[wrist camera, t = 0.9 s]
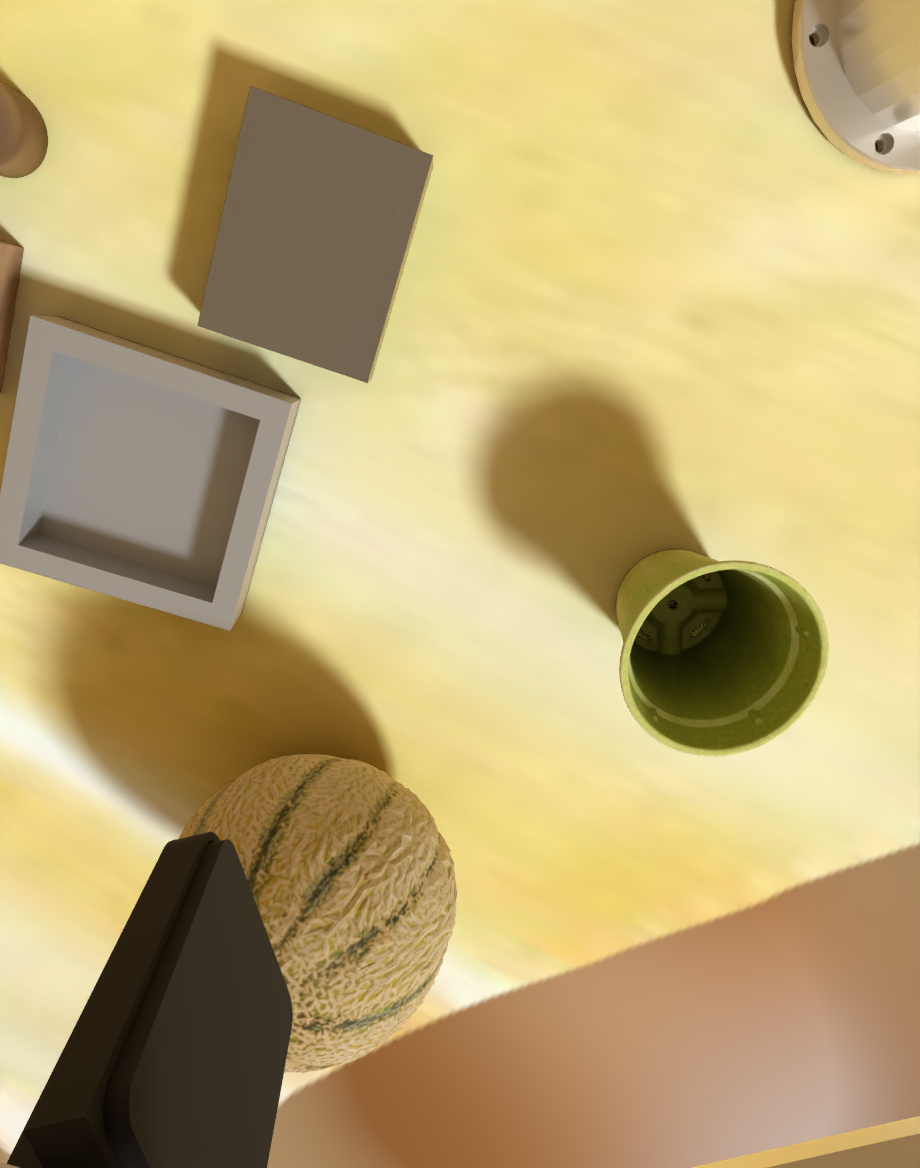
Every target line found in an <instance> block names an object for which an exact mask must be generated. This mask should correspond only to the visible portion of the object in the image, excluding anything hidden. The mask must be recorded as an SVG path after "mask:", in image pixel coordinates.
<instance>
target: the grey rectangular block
mask: <svg viewBox="0 0 920 1168" xmlns="http://www.w3.org/2000/svg"><path fill="white" fill-rule="evenodd" d="M432 169H433V155H430V154H428V153H425V152H422V151H420V150H417V149H414V148H412V147H409V146H407V145H404V144H401V143H399V142H396V141H394V140H391V139H388V138H386V137H383V136H380V135H378V134H375V133H373V132H370V131H367V130H365V129H362V128H359V127H357V126H354V125H352V124H349V123H346V122H344V121H341V120H338V119H336V118H333V117H331V116H328V115H325V114H323V113H320V112H317V111H315V110H312V109H310V108H307V107H304V106H302V105H299V104H296V103H294V102H291V101H289V100H286V99H283V98H281V97H278V96H276V95H273V94H270V93H268V92H265V91H262V90H260V89H257V88H255V87H252V86H250V89H249V94H248V98H247V103H246V108H245V112H244V117H243V121H242V126H241V130H240V135H239V139H238V144H237V149H236V153H235V158H234V162H233V167H232V171H231V176H230V180H229V185H228V190H227V194H226V199H225V203H224V208H223V212H222V217H221V221H220V226H219V230H218V235H217V240H216V244H215V249H214V253H213V258H212V262H211V267H210V271H209V276H208V281H207V285H206V290H205V294H204V299H203V303H202V308H201V312H200V317H199V321H198V326H200V327H203V328H206V329H209V330H212V331H215V332H218V333H221V334H224V335H227V336H230V337H233V338H235V339H238V340H241V341H244V342H247V343H250V344H253V345H256V346H259V347H262V348H265V349H268V350H271V351H274V352H277V353H280V354H283V355H286V356H289V357H292V358H295V359H298V360H301V361H304V362H307V363H310V364H313V365H316V366H319V367H322V368H325V369H328V370H331V371H334V372H337V373H340V374H343V375H345V376H348V377H351V378H354V379H357V380H360V381H363V382H366V383H368V382H369V381H370V380H371V379H372V376H373V372H374V369H375V365H376V362H377V358H378V355H379V351H380V348H381V344H382V341H383V338H384V334H385V331H386V327H387V324H388V320H389V317H390V313H391V310H392V307H393V303H394V300H395V296H396V293H397V289H398V286H399V282H400V279H401V276H402V272H403V269H404V265H405V262H406V258H407V255H408V251H409V248H410V244H411V241H412V238H413V234H414V231H415V227H416V224H417V220H418V217H419V213H420V210H421V207H422V203H423V200H424V196H425V193H426V189H427V186H428V182H429V179H430V176H431V172H432Z"/></svg>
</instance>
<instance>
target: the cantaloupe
mask: <svg viewBox="0 0 920 1168" xmlns="http://www.w3.org/2000/svg"><path fill="white" fill-rule="evenodd" d="M207 832H213V833H215V834H216V835H217V836H218V838H219V839H220V841H221V840H225V839H229V840H231V842H232V843H233V844H234V847H235V849H236V851H237V854H238V857H239V859H240V862H241V865H242V867H243V870H244V873H245V875H246V878H247V881H248V883H249V886H250V889H251V891H252V894H253V897H254V899H255V902H256V905H257V907H258V910H259V913H260V915H261V918H262V921H263V923H264V926H265V929H266V932H267V934H268V937H269V940H270V942H271V945H272V948H273V950H274V953H275V956H276V958H277V961H278V964H279V966H280V969H281V972H282V974H283V977H284V980H285V982H286V985H287V988H288V990H289V993H290V997H291V1002H292V1010H293V1022H292V1030H291V1035H290V1041H289V1046H288V1052H287V1058H286V1063H285V1069H284V1072H303V1073H304V1072H308V1071H315V1070H321V1069H325V1068H328V1067H331V1066H334V1065H341V1064H344V1063H347V1062H350V1061H353V1060H355V1059H357V1058H359V1057H361V1056H363V1055H365V1054H366V1053H368V1052H369V1051H371V1050H372V1049H374V1048H376V1047H377V1046H379V1045H380V1044H382V1043H384V1042H385V1041H386V1040H388V1039H389V1038H390V1037H391V1036H392V1035H393V1034H394V1033H395V1032H396V1031H397V1030H398V1029H400V1028H401V1027H402V1025H403V1024H404V1023H405V1022H406V1021H407V1020H408V1019H409V1018H410V1017H411V1016H412V1015H413V1014H414V1012H415V1011H416V1009H417V1008H418V1006H420V1005H421V1004H422V1002H423V999H424V997H425V996H426V995H427V993H428V992H429V990H430V988H431V986H432V985H433V984H434V979H435V977H436V976H437V975H438V972H439V969H440V966H441V964H442V963H443V956H444V954H445V952H446V949H447V946H448V941H449V939H450V937H451V935H452V929H453V927H454V924H455V914H456V897H457V890H456V882H455V872H454V863H453V860H452V858H451V854H450V849H449V848H448V846H447V844H446V842H445V840H444V838H443V837H442V836H441V834H440V833H439V832H438V830H437V827H436V824H435V821H434V819H433V817H432V816H431V814H430V812H429V811H428V809H427V808H426V806H425V805H424V804H423V803H422V802H421V801H420V800H419V798H418V797H417V795H415V794H414V793H412V792H411V791H410V790H409V789H407V788H405V787H404V786H403V785H402V784H400V783H398V782H396V781H394V780H393V779H392V778H391V777H390V775H388V774H387V773H385V772H384V771H381V770H378V769H377V768H376V767H374V766H372V765H370V764H367V763H364V762H361V761H359V760H352V759H345V758H338V757H335V756H331V755H324V754H298V755H288V756H282V757H279V758H275V759H270V760H268V761H265V762H263V763H261V764H259V765H257V766H255V767H253V768H251V769H250V770H248V771H247V772H246V773H244V774H242V775H240V776H239V777H238V778H236V779H235V780H233V781H232V782H230V783H229V784H227V785H225V786H224V787H222V788H221V789H220V790H218V791H217V792H216V793H215V794H214V795H213V796H211V798H209V799H208V800H207V801H206V802H205V803H204V804H203V805H202V806H201V807H200V808H198V810H197V811H196V813H195V814H194V816H193V817H192V818H191V820H190V821H189V822H188V824H187V825H186V827H185V829H184V830H183V832H182V834H181V835H180V837H179V839H181V838H185V837H190V836H194V835H198V834H202V833H207Z"/></svg>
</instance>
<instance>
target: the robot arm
mask: <svg viewBox="0 0 920 1168" xmlns="http://www.w3.org/2000/svg"><path fill="white" fill-rule="evenodd" d="M809 37H812V38H813V39H814V42H815V43H814V46H813V45H812V44H811V43H810V40H809ZM792 49H793V60H794V70H795V73H796V77H797V81H798V84H799V88H800V92H801V95H802V98H803V100H804V102H805V104H806V106H807V108H808V110H809V112H810V114H811V116H812V118H813V120H814V122H815V123H816V125H817V126H818V127H819V128H820V130H821V131H822V132H823V134H824V135H825V136H826V137H827V139H828V140H829V141H830V142H831V143H832V144H833V145H834V146H836V147H837V148H838V149H839V150H840V151H842V152H843V153H844V154H845V155H846V156H848V157H849V158H851V159H853V160H855V161H857V162H859V163H861V164H863V165H865V166H867V167H869V168H871V169H875V170H879V171H884V172H888V173H892V174H920V0H795V4H794V12H793V26H792ZM875 143H877V144H878V151H876V149H875ZM292 1022H293V1010H292V1002H291V997H290V993H289V990H288V988H287V985H286V982H285V980H284V977H283V974H282V972H281V969H280V966H279V964H278V961H277V958H276V956H275V953H274V950H273V948H272V945H271V942H270V940H269V937H268V934H267V932H266V929H265V926H264V923H263V921H262V918H261V915H260V913H259V910H258V907H257V905H256V902H255V899H254V897H253V894H252V891H251V889H250V886H249V883H248V881H247V878H246V875H245V873H244V870H243V867H242V865H241V862H240V859H239V857H238V854H237V851H236V849H235V847H234V844H233V843H232V842H231V840H229V839H225V840H221V841H220V839H219V838H218V836H217V835H216V834H215V833H213V832H207V833H202V834H198V835H194V836H190V837H185V838H181V839H177V840H172V841H170V842H168V843H167V844H166V846H165V847H164V849H163V851H162V853H161V855H160V857H159V859H158V861H157V863H156V865H155V867H154V869H153V871H152V873H151V875H150V877H149V879H148V881H147V883H146V885H145V887H144V889H143V891H142V893H141V895H140V897H139V899H138V901H137V903H136V905H135V907H134V909H133V911H132V913H131V915H130V917H129V919H128V921H127V923H126V925H125V927H124V929H123V931H122V933H121V935H120V937H119V939H118V941H117V943H116V945H115V947H114V949H113V951H112V953H111V955H110V957H109V959H108V961H107V963H106V965H105V967H104V969H103V971H102V973H101V975H100V977H99V979H98V981H97V983H96V985H95V987H94V989H93V991H92V993H91V995H90V997H89V999H88V1001H87V1003H86V1005H85V1007H84V1009H83V1011H82V1013H81V1015H80V1017H79V1019H78V1021H77V1023H76V1025H75V1027H74V1029H73V1032H72V1034H71V1036H70V1038H69V1040H68V1042H67V1044H66V1046H65V1048H64V1050H63V1052H62V1054H61V1056H60V1058H59V1060H58V1062H57V1064H56V1066H55V1068H54V1070H53V1072H52V1074H51V1076H50V1078H49V1080H48V1082H47V1084H46V1086H45V1088H44V1090H43V1092H42V1094H41V1096H40V1098H39V1100H38V1102H37V1104H36V1106H35V1108H34V1110H33V1112H32V1114H31V1116H30V1118H29V1120H28V1122H27V1124H26V1126H25V1128H24V1130H23V1132H22V1134H21V1136H20V1138H19V1140H18V1142H17V1144H16V1146H15V1148H14V1150H13V1152H12V1154H11V1156H10V1158H9V1160H8V1162H7V1164H5V1163H0V1168H267V1164H268V1158H269V1152H270V1147H271V1141H272V1135H273V1130H274V1124H275V1118H276V1113H277V1108H278V1102H279V1097H280V1091H281V1085H282V1080H283V1074H284V1069H285V1063H286V1058H287V1052H288V1046H289V1041H290V1035H291V1030H292ZM691 1168H920V1116H918V1117H913V1118H909V1119H904V1120H899V1121H895V1122H891V1123H886V1124H882V1125H878V1126H873V1127H869V1128H864V1129H859V1130H855V1131H851V1132H846V1133H842V1134H837V1135H833V1136H829V1137H824V1138H820V1139H815V1140H810V1141H806V1142H802V1143H797V1144H793V1145H788V1146H784V1147H780V1148H775V1149H770V1150H766V1151H761V1152H757V1153H753V1154H748V1155H744V1156H739V1157H735V1158H731V1159H726V1160H722V1161H717V1162H713V1163H709V1164H705V1165H700V1166H695V1167H691Z"/></svg>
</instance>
